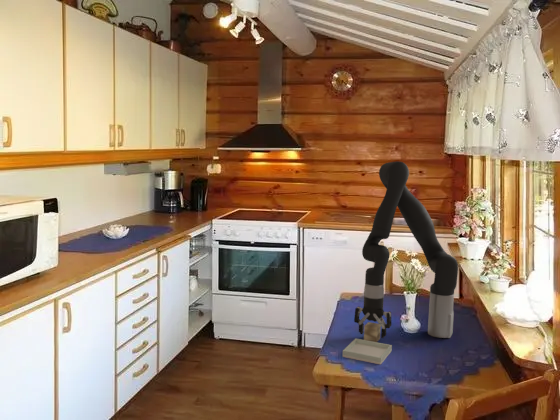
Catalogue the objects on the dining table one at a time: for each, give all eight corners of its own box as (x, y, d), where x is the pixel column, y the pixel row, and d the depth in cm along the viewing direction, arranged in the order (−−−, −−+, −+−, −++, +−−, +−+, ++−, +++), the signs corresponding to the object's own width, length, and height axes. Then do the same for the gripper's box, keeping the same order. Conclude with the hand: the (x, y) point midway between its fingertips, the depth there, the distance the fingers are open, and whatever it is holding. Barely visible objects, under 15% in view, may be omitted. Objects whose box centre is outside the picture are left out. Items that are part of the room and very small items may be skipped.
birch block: (380, 338, 216) (380, 324, 216) (376, 342, 212) (376, 327, 211) (367, 336, 219) (368, 322, 218) (363, 340, 214) (364, 325, 213)
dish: (391, 351, 204) (391, 345, 203) (380, 364, 191) (380, 358, 191) (355, 344, 210) (355, 338, 210) (342, 356, 198) (342, 350, 197)
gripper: (394, 295, 213) (392, 335, 215) (359, 290, 220) (357, 329, 222) (389, 300, 207) (387, 341, 209) (353, 294, 213) (351, 335, 215)
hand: (372, 335), depth 215 cm, fingers open, 8 cm apart
